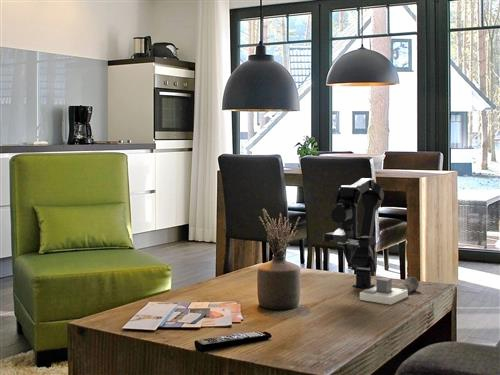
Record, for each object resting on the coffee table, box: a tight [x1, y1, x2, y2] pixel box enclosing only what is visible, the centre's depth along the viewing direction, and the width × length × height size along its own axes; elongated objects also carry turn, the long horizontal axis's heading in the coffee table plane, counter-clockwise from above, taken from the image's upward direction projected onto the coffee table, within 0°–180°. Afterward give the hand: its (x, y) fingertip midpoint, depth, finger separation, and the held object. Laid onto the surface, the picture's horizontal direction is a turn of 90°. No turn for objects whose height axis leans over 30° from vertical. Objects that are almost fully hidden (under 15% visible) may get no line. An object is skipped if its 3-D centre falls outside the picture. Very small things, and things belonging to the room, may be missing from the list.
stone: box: [399, 276, 420, 294], centre depth 261 cm, size 10×5×8 cm
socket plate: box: [359, 285, 409, 305], centre depth 251 cm, size 14×12×3 cm
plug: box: [375, 277, 393, 294], centre depth 251 cm, size 4×4×7 cm
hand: (348, 262), depth 255 cm, fingers closed
